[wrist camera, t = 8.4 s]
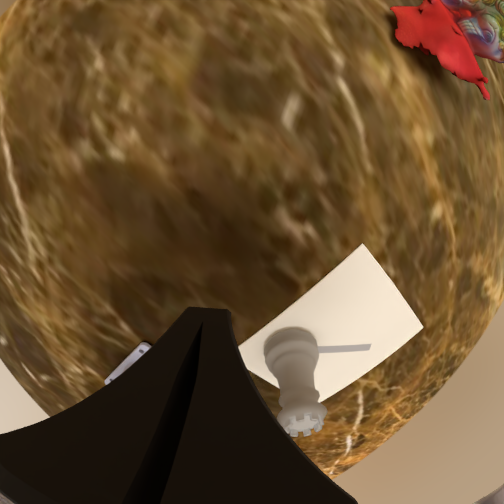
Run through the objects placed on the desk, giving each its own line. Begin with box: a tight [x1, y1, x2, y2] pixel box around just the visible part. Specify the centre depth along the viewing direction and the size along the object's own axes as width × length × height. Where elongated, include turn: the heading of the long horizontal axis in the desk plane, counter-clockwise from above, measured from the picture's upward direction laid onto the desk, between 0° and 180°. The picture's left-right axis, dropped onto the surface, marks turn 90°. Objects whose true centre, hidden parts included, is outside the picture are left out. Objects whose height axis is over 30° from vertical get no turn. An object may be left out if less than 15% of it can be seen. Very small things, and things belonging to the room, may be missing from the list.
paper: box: [238, 243, 423, 403], centre depth 21 cm, size 14×12×1 cm
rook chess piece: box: [263, 330, 327, 437], centre depth 17 cm, size 4×4×8 cm
